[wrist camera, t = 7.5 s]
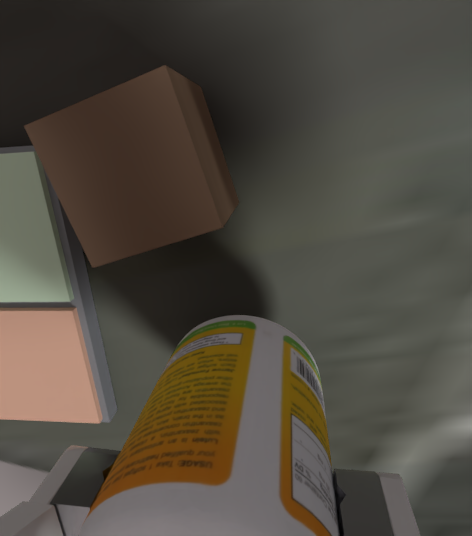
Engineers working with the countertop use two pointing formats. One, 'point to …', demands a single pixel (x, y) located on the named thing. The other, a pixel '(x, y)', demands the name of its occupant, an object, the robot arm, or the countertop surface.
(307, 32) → the countertop surface
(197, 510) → the supplement bottle
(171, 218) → the walnut block
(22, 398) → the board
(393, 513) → the robot arm
